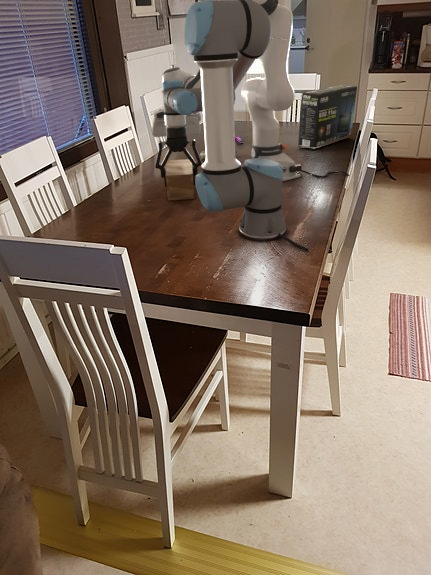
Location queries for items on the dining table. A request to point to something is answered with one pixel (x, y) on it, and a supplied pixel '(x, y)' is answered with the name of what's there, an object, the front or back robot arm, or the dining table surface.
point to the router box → (326, 115)
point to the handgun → (239, 140)
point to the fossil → (203, 154)
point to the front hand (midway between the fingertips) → (180, 184)
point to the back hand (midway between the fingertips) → (177, 146)
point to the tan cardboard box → (179, 180)
